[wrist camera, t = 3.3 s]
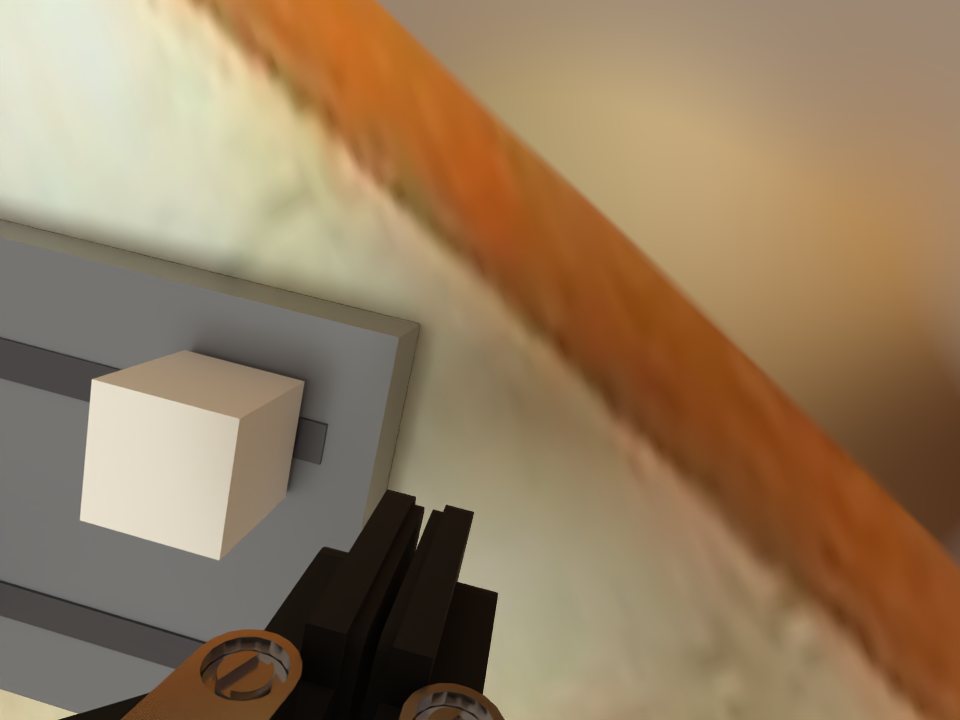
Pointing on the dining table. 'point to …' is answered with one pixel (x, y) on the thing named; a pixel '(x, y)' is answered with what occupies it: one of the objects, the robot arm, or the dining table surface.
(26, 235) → the switch board
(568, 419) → the dining table surface
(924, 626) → the dining table surface
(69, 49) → the dining table surface
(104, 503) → the tab
